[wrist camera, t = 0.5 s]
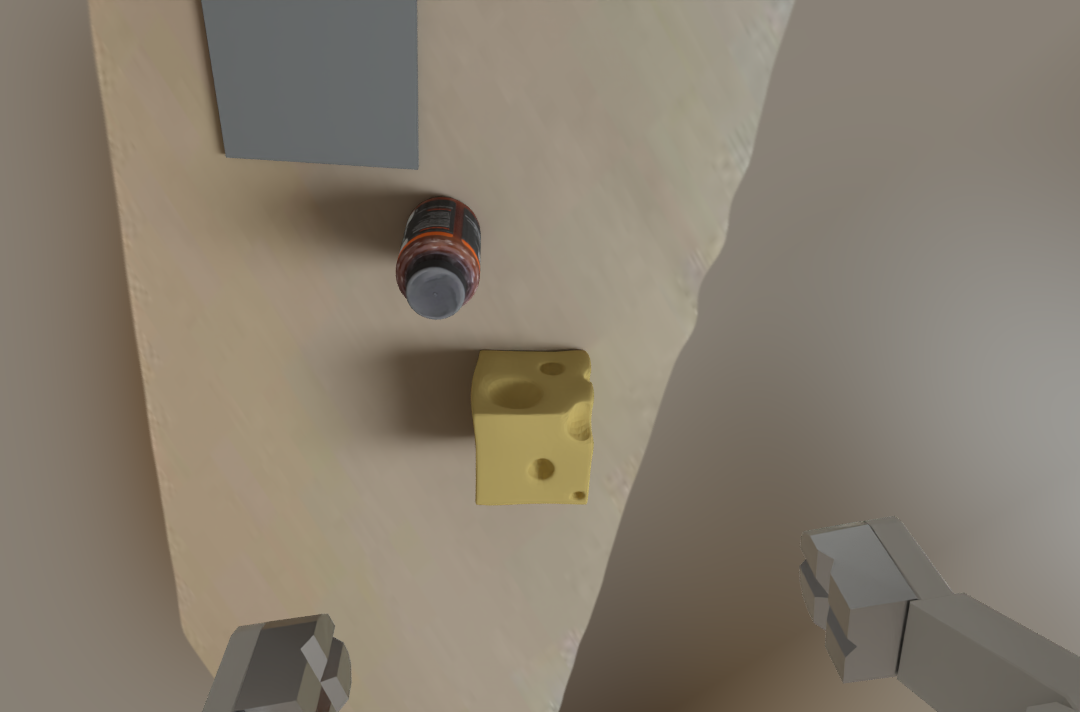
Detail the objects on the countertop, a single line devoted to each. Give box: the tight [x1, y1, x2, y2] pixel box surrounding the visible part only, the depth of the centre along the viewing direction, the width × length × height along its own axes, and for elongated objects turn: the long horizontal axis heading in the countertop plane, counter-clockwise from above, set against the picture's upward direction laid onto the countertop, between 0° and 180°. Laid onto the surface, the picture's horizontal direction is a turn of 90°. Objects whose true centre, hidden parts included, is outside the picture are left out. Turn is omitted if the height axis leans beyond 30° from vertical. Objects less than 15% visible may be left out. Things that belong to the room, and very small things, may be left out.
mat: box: [201, 0, 418, 170], centre depth 48 cm, size 14×14×1 cm
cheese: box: [471, 350, 594, 505], centre depth 60 cm, size 10×11×10 cm
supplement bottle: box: [396, 197, 481, 320], centre depth 50 cm, size 6×6×11 cm
